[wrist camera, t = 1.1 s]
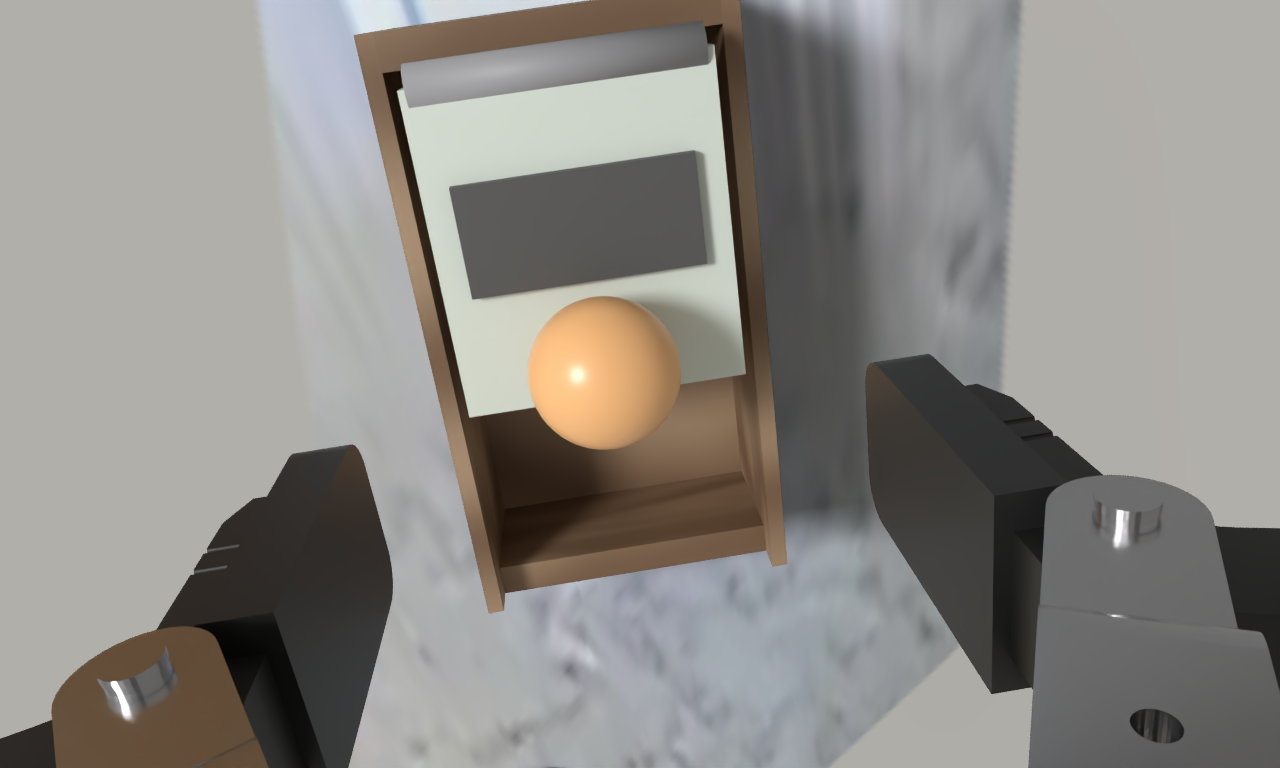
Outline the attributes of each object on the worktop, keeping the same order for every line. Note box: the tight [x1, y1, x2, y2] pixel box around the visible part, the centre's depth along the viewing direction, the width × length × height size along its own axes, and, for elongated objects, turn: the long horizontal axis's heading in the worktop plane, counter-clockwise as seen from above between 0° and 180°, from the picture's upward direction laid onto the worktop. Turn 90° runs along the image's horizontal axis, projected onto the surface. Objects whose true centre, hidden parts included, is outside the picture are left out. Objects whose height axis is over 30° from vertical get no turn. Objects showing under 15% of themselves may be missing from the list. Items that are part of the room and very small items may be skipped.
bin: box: [354, 0, 787, 613], centre depth 31 cm, size 18×10×6 cm, turn 8°
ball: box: [527, 296, 681, 450], centre depth 25 cm, size 4×4×4 cm
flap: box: [397, 20, 746, 418], centre depth 26 cm, size 10×8×1 cm
